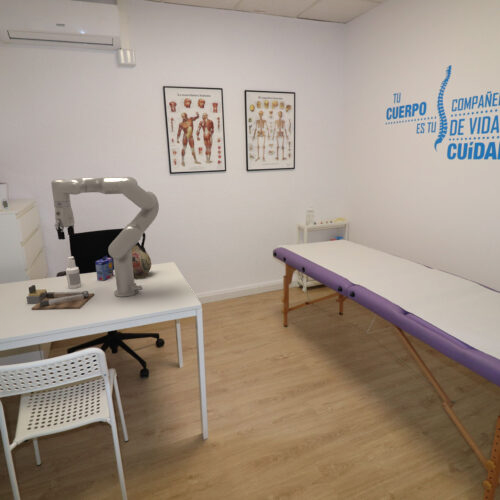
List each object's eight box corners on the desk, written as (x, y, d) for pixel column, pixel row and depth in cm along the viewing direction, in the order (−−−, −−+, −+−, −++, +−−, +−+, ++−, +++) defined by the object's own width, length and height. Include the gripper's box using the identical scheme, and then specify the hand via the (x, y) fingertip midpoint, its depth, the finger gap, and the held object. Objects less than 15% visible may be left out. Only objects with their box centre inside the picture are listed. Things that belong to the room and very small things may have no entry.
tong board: (94, 295, 196) (94, 293, 196) (79, 308, 179) (79, 306, 179) (50, 296, 196) (50, 294, 196) (31, 309, 179) (31, 308, 178)
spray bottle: (76, 289, 206) (71, 259, 201) (65, 288, 207) (61, 258, 202) (83, 285, 212) (79, 255, 207) (73, 284, 213) (69, 255, 209)
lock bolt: (46, 291, 192) (45, 284, 191) (40, 295, 186) (38, 288, 185) (35, 291, 192) (33, 284, 191) (28, 296, 186) (27, 288, 185)
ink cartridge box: (104, 281, 218) (101, 258, 214) (96, 280, 219) (93, 257, 216) (114, 276, 227) (112, 254, 223) (107, 275, 229) (104, 253, 225)
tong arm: (88, 295, 192) (88, 290, 191) (89, 298, 189) (88, 293, 188) (40, 304, 183) (39, 298, 182) (40, 307, 179) (39, 301, 178)
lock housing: (48, 297, 194) (46, 291, 193) (39, 303, 186) (38, 296, 185) (36, 297, 194) (34, 291, 193) (27, 303, 186) (26, 296, 185)
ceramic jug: (123, 280, 219) (117, 232, 212) (132, 272, 234) (127, 227, 226) (150, 279, 219) (145, 232, 211) (157, 271, 233) (153, 226, 226)
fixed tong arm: (83, 295, 193) (83, 291, 192) (81, 297, 190) (81, 293, 190) (48, 296, 192) (48, 292, 192) (46, 298, 190) (45, 293, 190)
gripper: (60, 206, 173) (65, 241, 177) (78, 202, 190) (81, 233, 194) (45, 206, 173) (50, 241, 177) (63, 202, 190) (68, 233, 194)
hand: (66, 237), depth 186 cm, fingers open, 9 cm apart
